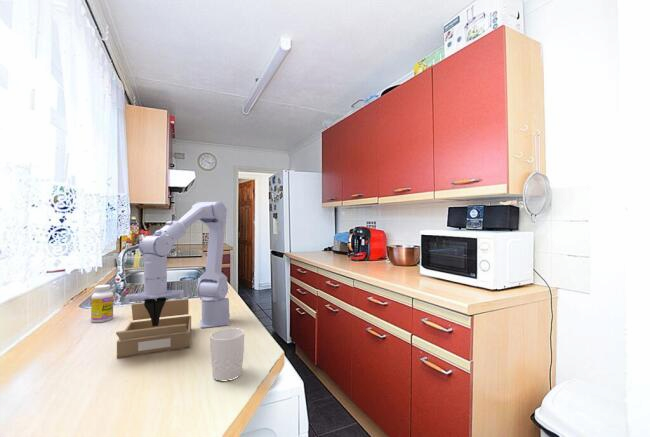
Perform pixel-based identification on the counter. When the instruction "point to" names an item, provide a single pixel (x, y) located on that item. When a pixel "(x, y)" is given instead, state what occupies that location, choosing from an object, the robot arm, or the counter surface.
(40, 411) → the counter surface
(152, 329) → the near flap
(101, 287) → the supplement bottle
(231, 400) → the counter surface
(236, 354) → the white cup
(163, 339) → the carton
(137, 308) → the far flap
